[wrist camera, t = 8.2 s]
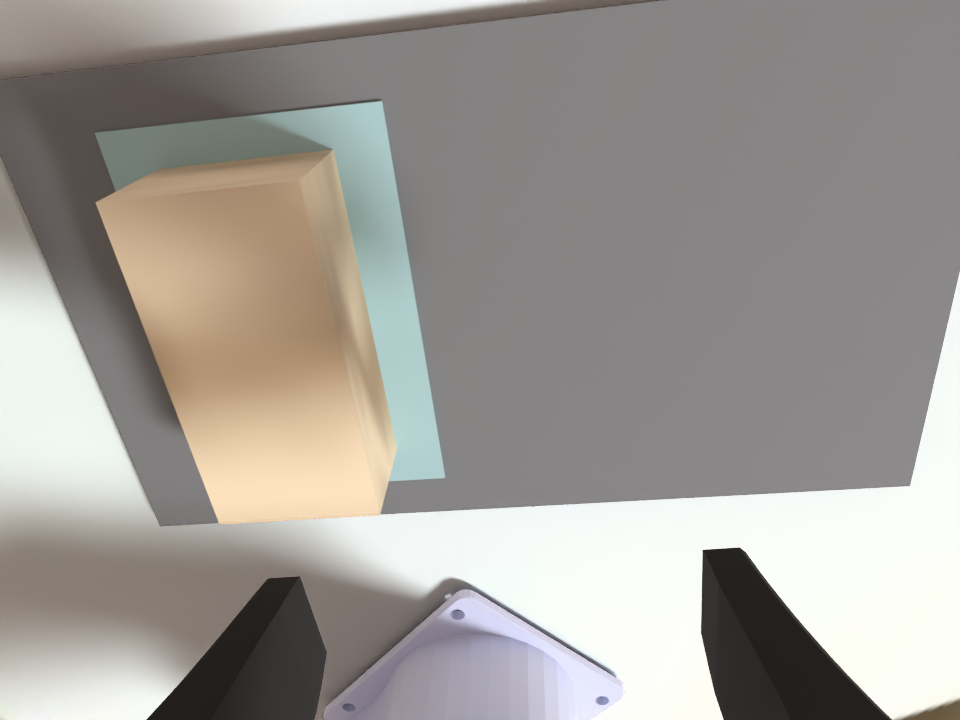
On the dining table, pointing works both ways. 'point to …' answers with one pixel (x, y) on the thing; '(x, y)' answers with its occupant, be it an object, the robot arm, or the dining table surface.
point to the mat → (567, 238)
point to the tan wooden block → (260, 332)
